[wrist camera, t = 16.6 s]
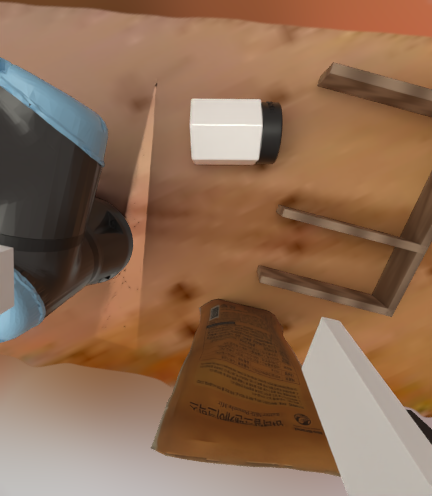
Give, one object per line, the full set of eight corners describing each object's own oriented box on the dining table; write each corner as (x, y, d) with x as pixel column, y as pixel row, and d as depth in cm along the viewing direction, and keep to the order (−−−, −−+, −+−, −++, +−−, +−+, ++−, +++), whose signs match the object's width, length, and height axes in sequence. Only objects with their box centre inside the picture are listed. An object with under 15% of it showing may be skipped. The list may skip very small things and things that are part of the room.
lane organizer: (256, 271, 46) (259, 282, 41) (320, 76, 37) (333, 62, 32) (375, 302, 47) (391, 316, 42) (467, 116, 37) (501, 108, 33)
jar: (194, 114, 40) (269, 114, 40) (195, 167, 42) (267, 167, 42) (189, 89, 31) (285, 90, 31) (189, 157, 33) (282, 158, 33)
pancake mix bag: (197, 285, 48) (154, 429, 21) (296, 308, 48) (378, 481, 21) (190, 315, 50) (142, 483, 23) (285, 338, 50) (347, 530, 23)
